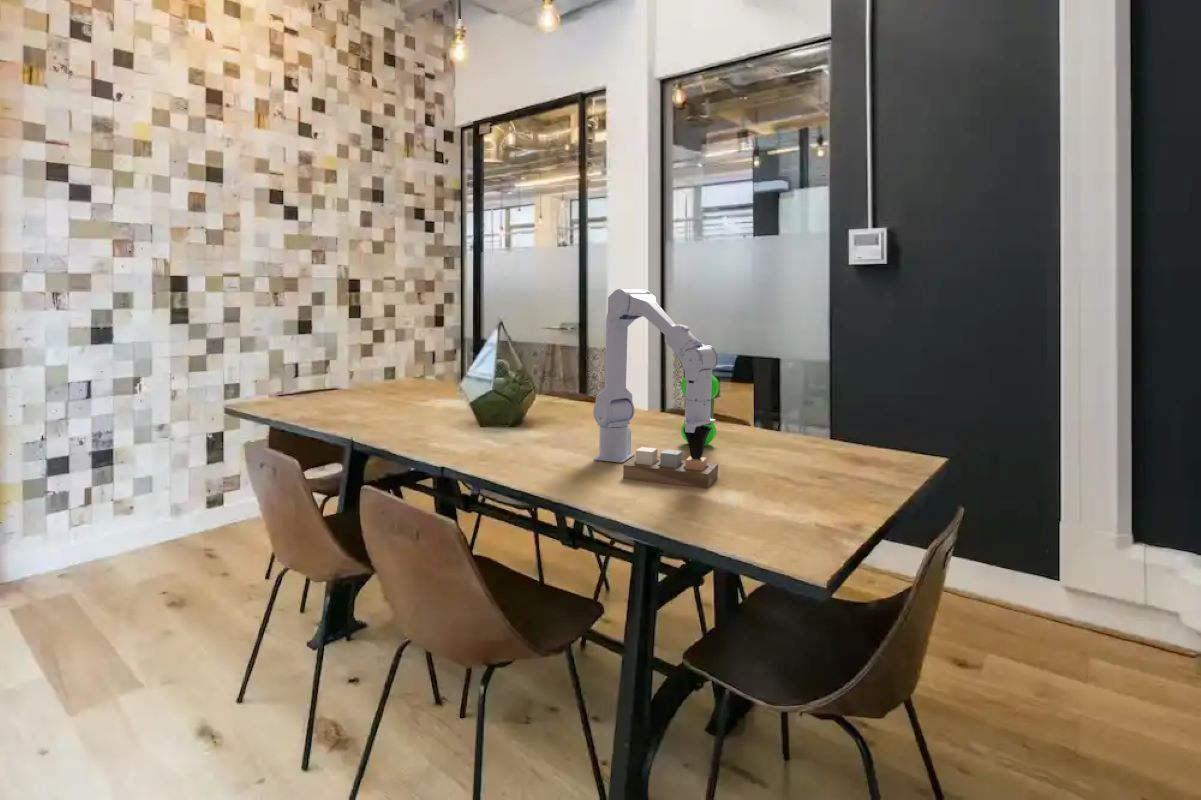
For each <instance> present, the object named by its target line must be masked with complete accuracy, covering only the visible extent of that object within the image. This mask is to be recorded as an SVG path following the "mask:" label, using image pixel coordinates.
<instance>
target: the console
mask: <svg viewBox="0 0 1201 800" xmlns="http://www.w3.org/2000/svg"><path fill="white" fill-rule="evenodd" d="M685 464H686V460H683V459H682V465H681V466H680V467H679V468H673V467H664V466H660V457H657V463H656V464H655V465H645V464H636V456H635V457H633V458H632V459H630V460H629V461H627V462H626V463H624V464H623V469H622V470H623V475H622V476H623V477H622V478H623V479H625V480H627V479H628V480H633V481H634V480H636V481H642V482H643V481H645V482H652V483H661V484H670V485H678V486H679V485H680V486H686V487H695V488H704V489H708V488H710V486H711V485H712V484H713V483H714V482H715V481H716V479H717V478H718V475H719V464H718V463H712V462H711V463H710V462H707V469H705V470H704V471H702V470H692V469H685Z"/></svg>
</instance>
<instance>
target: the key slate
mask: <svg viewBox="0 0 1201 800" xmlns="http://www.w3.org/2000/svg"><path fill="white" fill-rule="evenodd" d="M659 458H660V466H664V467H673V468H679V467H680V466H681V465H682V460H683V451H682V450H675V449H674V450H673V449H664V450H663V451H661V452H660V457H659Z"/></svg>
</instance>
